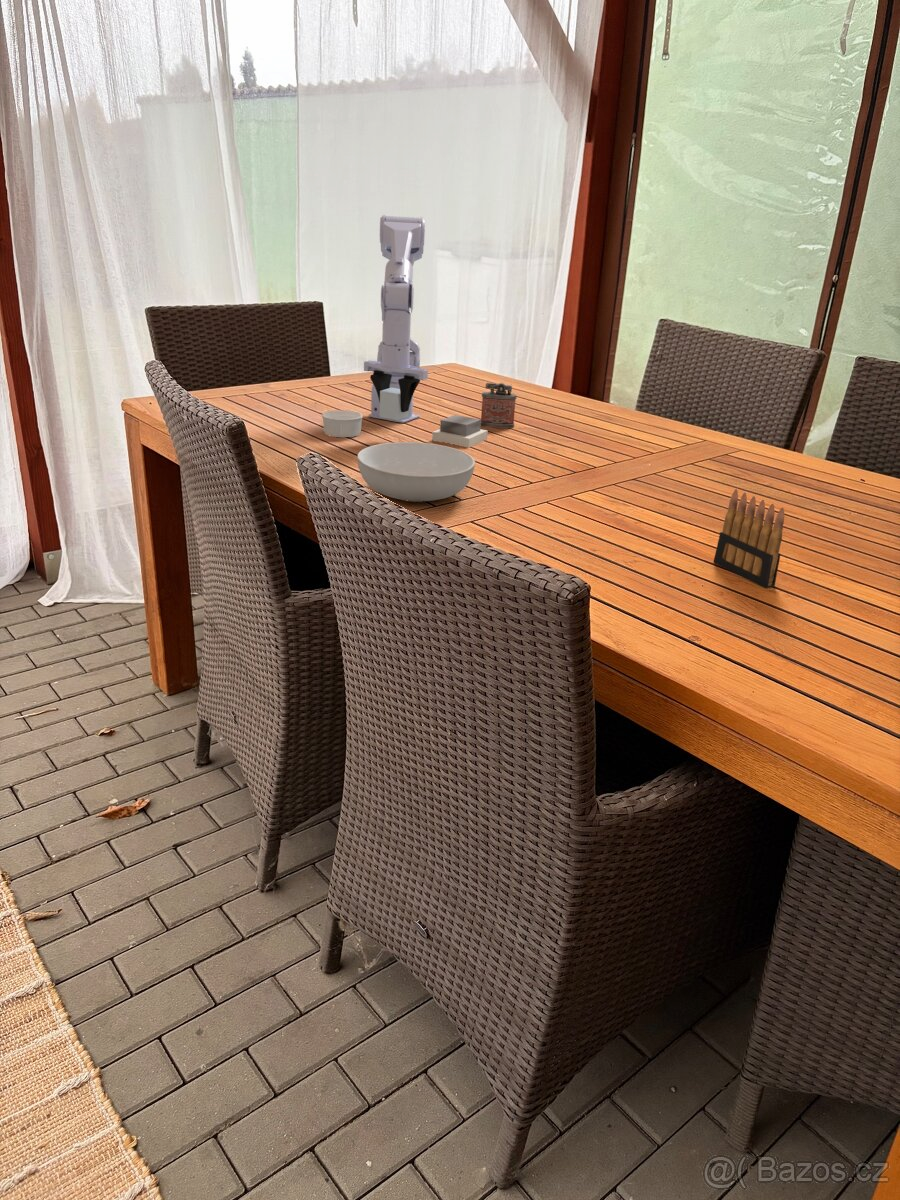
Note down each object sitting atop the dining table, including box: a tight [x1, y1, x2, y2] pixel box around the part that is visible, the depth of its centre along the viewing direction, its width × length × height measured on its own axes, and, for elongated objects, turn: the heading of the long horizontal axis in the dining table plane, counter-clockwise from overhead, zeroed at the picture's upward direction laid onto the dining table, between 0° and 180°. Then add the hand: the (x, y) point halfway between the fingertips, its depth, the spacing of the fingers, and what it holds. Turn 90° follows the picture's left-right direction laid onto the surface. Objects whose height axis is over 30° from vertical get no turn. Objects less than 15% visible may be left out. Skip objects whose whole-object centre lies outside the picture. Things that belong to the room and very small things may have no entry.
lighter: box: [480, 382, 518, 429], centre depth 207 cm, size 8×3×10 cm, turn 84°
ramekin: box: [321, 409, 363, 438], centre depth 195 cm, size 9×9×4 cm
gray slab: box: [439, 414, 482, 436], centre depth 195 cm, size 6×6×2 cm
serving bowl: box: [356, 441, 476, 503], centre depth 159 cm, size 21×21×7 cm
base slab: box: [431, 428, 489, 449], centre depth 196 cm, size 9×9×2 cm
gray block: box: [380, 388, 409, 420], centre depth 189 cm, size 4×4×6 cm
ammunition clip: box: [713, 489, 785, 589], centre depth 131 cm, size 11×2×12 cm, turn 29°
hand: (394, 409), depth 190 cm, fingers closed on gray block, 4 cm apart
